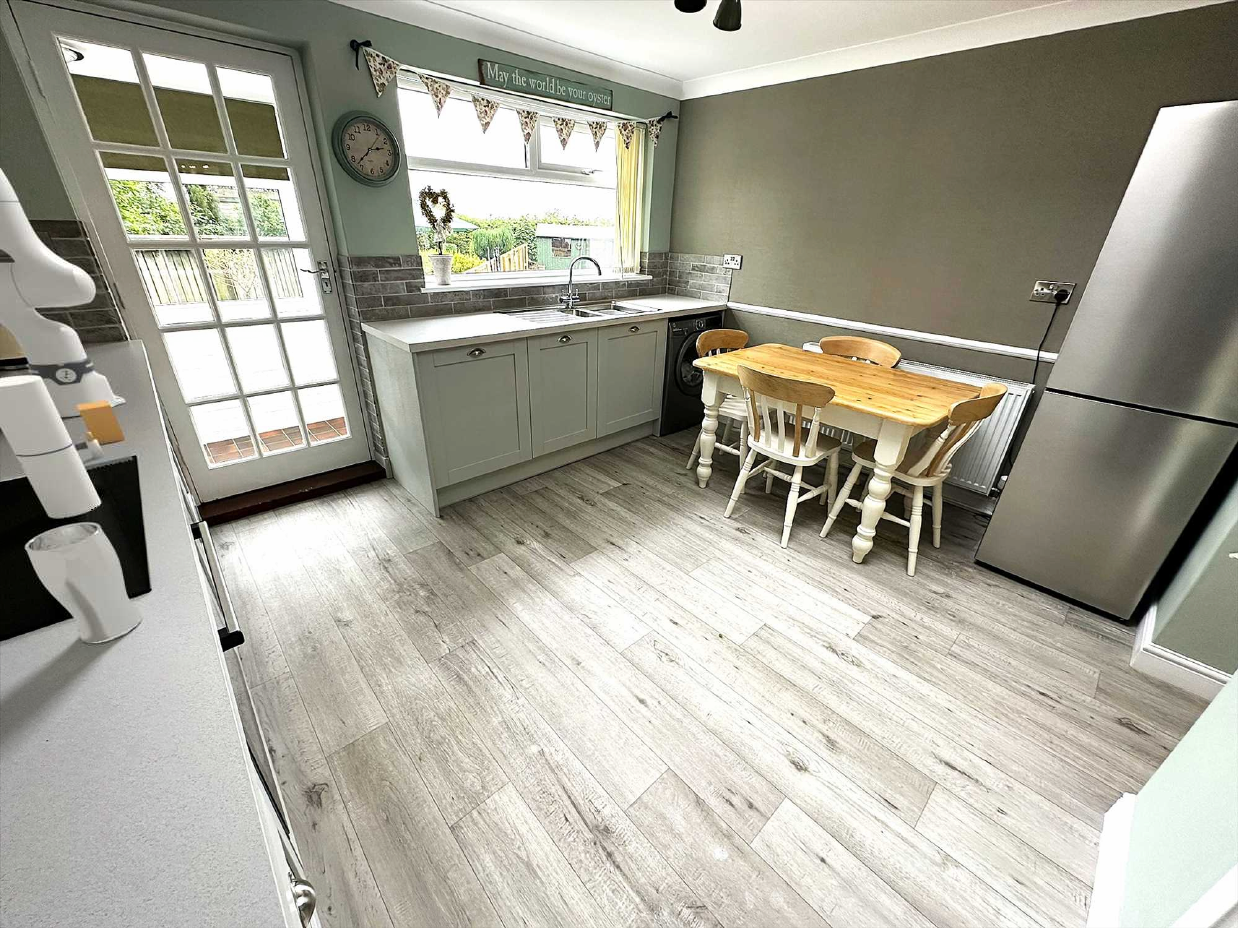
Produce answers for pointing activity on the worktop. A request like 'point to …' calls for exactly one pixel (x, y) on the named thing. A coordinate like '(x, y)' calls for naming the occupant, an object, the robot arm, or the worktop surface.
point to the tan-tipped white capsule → (93, 446)
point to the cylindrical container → (44, 447)
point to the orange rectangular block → (101, 421)
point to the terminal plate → (105, 455)
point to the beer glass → (84, 579)
